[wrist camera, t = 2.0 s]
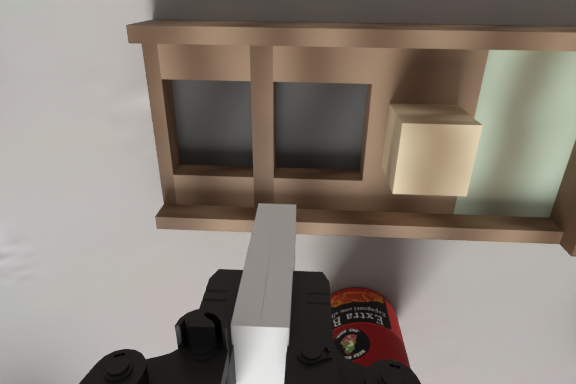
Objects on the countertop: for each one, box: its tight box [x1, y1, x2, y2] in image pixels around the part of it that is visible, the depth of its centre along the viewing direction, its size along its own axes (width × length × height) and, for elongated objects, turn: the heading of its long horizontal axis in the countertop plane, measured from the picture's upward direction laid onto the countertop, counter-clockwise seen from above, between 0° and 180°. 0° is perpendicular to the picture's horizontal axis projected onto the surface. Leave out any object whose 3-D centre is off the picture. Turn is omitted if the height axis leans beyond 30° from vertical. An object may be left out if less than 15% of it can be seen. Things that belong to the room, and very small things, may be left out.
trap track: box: [126, 20, 576, 256], centre depth 28 cm, size 30×14×6 cm, turn 89°
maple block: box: [382, 103, 483, 196], centre depth 26 cm, size 4×4×4 cm
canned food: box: [330, 288, 410, 368], centre depth 34 cm, size 8×8×11 cm
